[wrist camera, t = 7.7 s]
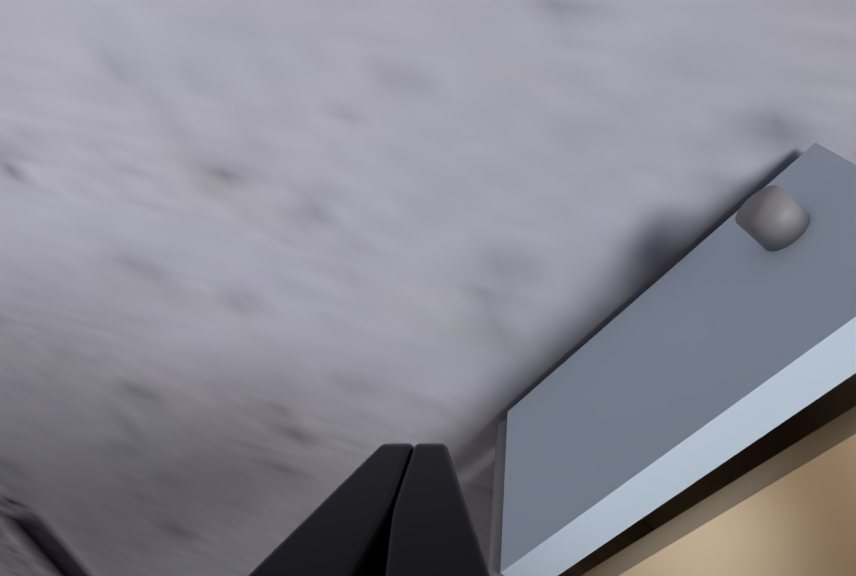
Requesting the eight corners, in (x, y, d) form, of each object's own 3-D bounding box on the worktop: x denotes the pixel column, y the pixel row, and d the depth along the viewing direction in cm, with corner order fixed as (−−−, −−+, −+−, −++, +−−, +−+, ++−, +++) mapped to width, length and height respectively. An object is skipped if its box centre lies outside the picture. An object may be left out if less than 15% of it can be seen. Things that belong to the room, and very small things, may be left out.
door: (789, 117, 17) (949, 202, 10) (840, 166, 17) (1025, 278, 11) (468, 410, 22) (444, 582, 16) (511, 443, 22) (505, 625, 16)
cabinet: (904, 140, 17) (1160, 251, 10) (1075, 330, 18) (1398, 537, 12) (525, 434, 23) (524, 631, 16) (679, 560, 24) (739, 788, 17)
